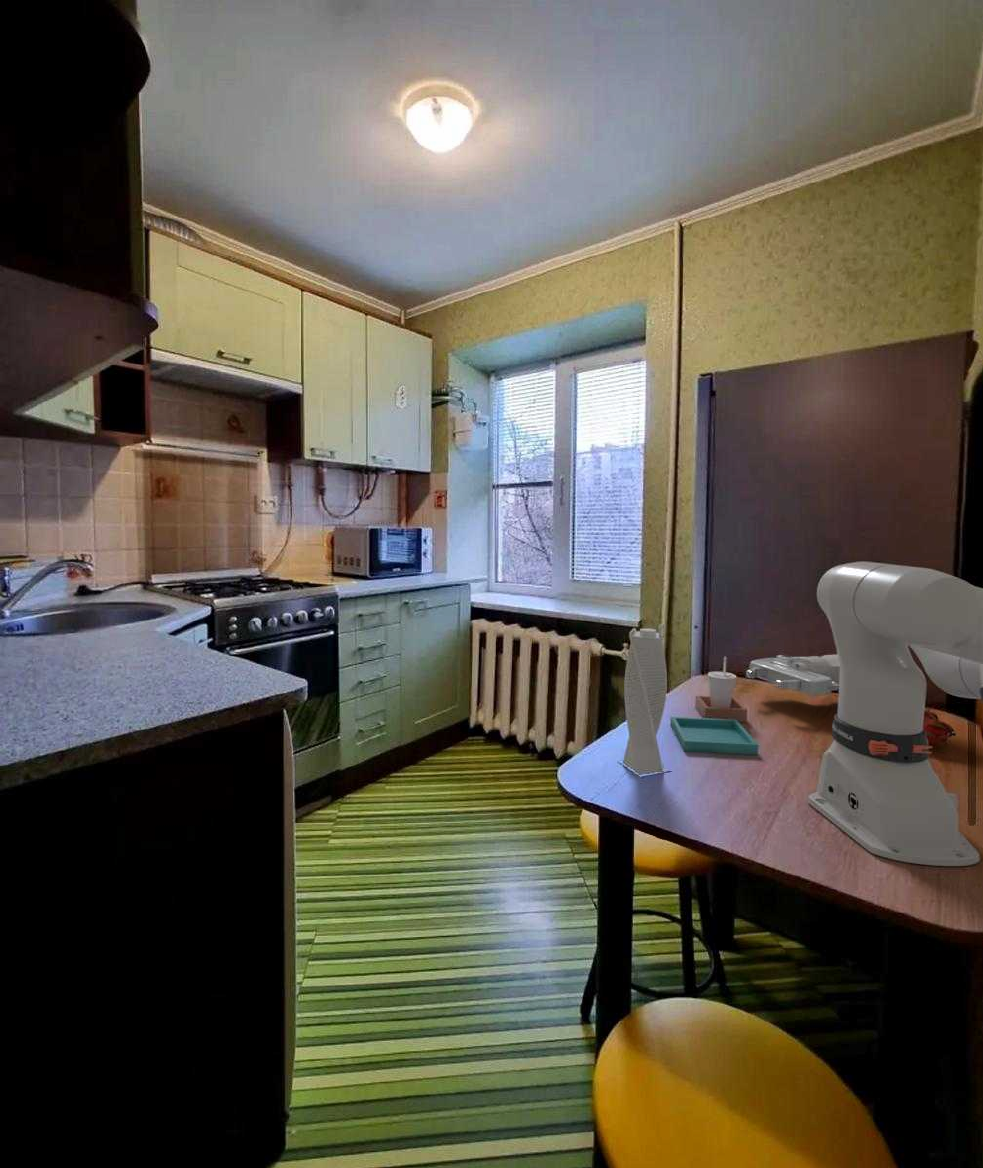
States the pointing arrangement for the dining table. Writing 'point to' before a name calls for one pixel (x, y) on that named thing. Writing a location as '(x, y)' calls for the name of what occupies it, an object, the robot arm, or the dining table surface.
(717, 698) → the smoothie
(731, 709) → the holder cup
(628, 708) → the skyscraper
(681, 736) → the tray
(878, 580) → the robot arm
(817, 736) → the dining table surface
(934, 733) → the dragon fruit
